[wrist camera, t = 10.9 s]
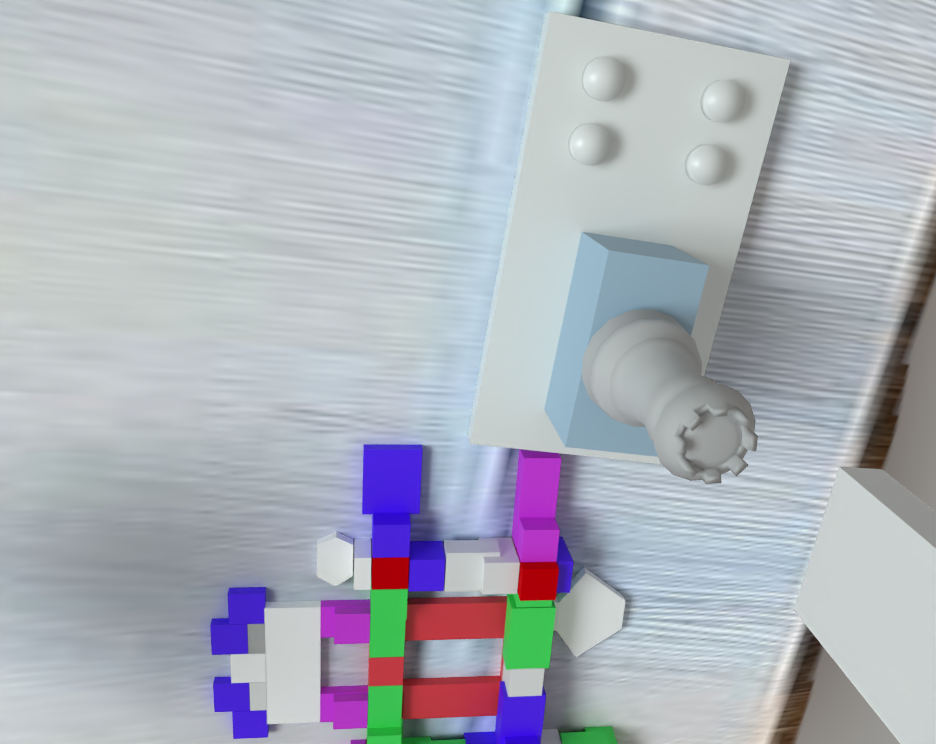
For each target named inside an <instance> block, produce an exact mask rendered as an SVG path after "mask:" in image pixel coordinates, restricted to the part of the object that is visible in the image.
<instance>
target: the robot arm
mask: <svg viewBox="0 0 936 744" xmlns="http://www.w3.org/2000/svg"><path fill="white" fill-rule="evenodd" d="M794 611H795V612H796V613H797V614H798V616H799V617H800V618H801V619H802V621H803V622H804V623H805V624H806V626H807V627H808V628H809V629H810V631H811V632H812V633H813V634H814V636H815V637H816V638H817V639H818V641H819V642H820V643H821V644H822V646H823V647H824V648H825V650H826V651H827V652H828V653H829V655H830V656H831V657H832V658H833V659H834V661H835V662H836V663H837V665H838V666H839V667H840V668H841V670H842V671H843V672H844V673H845V675H846V676H847V677H848V678H849V680H850V681H851V682H852V683H853V685H854V686H855V687H856V688H857V690H858V691H859V692H860V693H861V695H862V696H863V697H864V698H865V700H866V701H867V702H868V704H869V705H870V706H871V707H872V709H873V710H874V711H875V712H876V714H877V715H878V716H879V717H880V719H881V720H882V721H883V722H884V724H885V725H886V726H887V727H888V729H889V730H890V731H891V732H892V734H893V735H894V736H895V737H896V739H897V740H898V741H899V742H900V744H936V511H934V510H933V509H932V508H930V507H929V506H928V505H927V504H925V503H924V502H923V501H921V500H920V499H919V498H918V497H916V496H915V495H914V494H913V493H911V492H910V491H909V490H908V489H906V488H905V487H904V486H902V485H901V484H900V483H899V482H897V481H896V480H895V479H893V478H892V477H891V476H890V475H888V474H887V473H886V472H885V471H883V470H882V469H867V468H851V467H839V469H838V472H837V476H836V479H835V482H834V485H833V488H832V491H831V494H830V498H829V501H828V504H827V507H826V510H825V513H824V516H823V520H822V523H821V526H820V529H819V532H818V535H817V539H816V542H815V545H814V548H813V551H812V554H811V557H810V561H809V564H808V567H807V570H806V573H805V576H804V579H803V583H802V586H801V589H800V592H799V595H798V598H797V602H796V605H795V608H794Z"/></svg>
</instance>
